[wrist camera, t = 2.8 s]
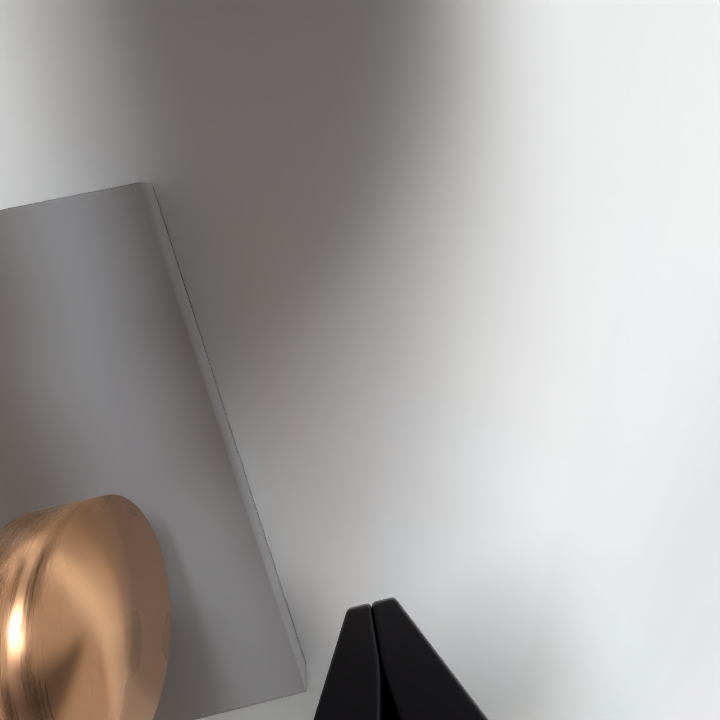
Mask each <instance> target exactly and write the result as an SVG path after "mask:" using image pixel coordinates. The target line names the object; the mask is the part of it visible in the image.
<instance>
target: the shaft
mask: <svg viewBox="0 0 720 720" xmlns="http://www.w3.org/2000/svg"><path fill="white" fill-rule="evenodd" d="M169 643H170V601H169V590H168V582H167V576H166V570H165V566H164V561H163V557H162V554H161V550H160V547H159V544H158V541H157V539H156V536H155V534H154V532H153V529H152V527H151V525H150V524H149V522H148V520H147V518H146V517H145V515H144V514H143V513H142V511H141V510H140V509H139V508H138V507H137V506H136V505H135V504H134V503H133V502H131V501H130V500H129V499H127V498H125V497H122V496H120V495H115V494H110V495H103V496H98V497H94V498H90V499H85V500H81V501H77V502H72V503H68V504H64V505H59V506H55V507H51V508H46V509H42V510H38V511H33V512H30V513H27V514H23V515H21V516H20V517H18V518H16V519H14V520H12V521H11V522H9V523H8V524H7V525H5V526H4V527H3V528H1V529H0V720H153V717H154V715H155V712H156V710H157V706H158V703H159V700H160V697H161V693H162V689H163V685H164V680H165V675H166V669H167V662H168V655H169Z"/></svg>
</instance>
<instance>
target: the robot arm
mask: <svg viewBox="0 0 720 720" xmlns="http://www.w3.org/2000/svg"><path fill="white" fill-rule="evenodd" d="M314 720H488V719H487V717H486V716H485V715H484V714H483V712H482V711H481V710H480V708H479V707H478V706H477V704H476V703H475V702H474V700H473V699H472V698H471V697H470V695H469V694H468V693H467V691H466V690H465V689H464V687H463V686H462V685H461V683H460V682H459V681H458V679H457V678H456V677H455V676H454V674H453V673H452V672H451V670H450V669H449V668H448V666H447V665H446V664H445V662H444V661H443V660H442V659H441V657H440V656H439V655H438V653H437V652H436V651H435V649H434V648H433V647H432V645H431V644H430V643H429V642H428V640H427V639H426V638H425V636H424V635H423V634H422V632H421V631H420V630H419V628H418V627H417V626H416V625H415V623H414V622H413V621H412V619H411V618H410V617H409V615H408V614H407V613H406V611H405V610H404V609H403V607H402V606H401V605H400V604H399V602H398V601H397V600H396V599H395V598H388V599H384V600H379V601H376V602H374V603H373V604H372V606H371V605H370V604H363V605H359V606H355V607H351V608H349V609H348V610H347V612H346V615H345V618H344V622H343V625H342V628H341V631H340V635H339V638H338V641H337V645H336V648H335V651H334V654H333V658H332V661H331V664H330V668H329V671H328V674H327V677H326V681H325V684H324V687H323V691H322V694H321V697H320V700H319V704H318V707H317V710H316V714H315V717H314Z"/></svg>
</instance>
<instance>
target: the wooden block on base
mask: <svg viewBox="0 0 720 720" xmlns="http://www.w3.org/2000/svg"><path fill="white" fill-rule="evenodd" d="M110 494H115V495H120V496H122V497H125V498H127V499H129V500H130V501H131V502H133V503H134V504H135V505H136V506H137V507H138V508H139V509H140V510H141V511H142V513H143V514H144V515H145V517H146V518H147V520H148V522H149V524H150V525H151V527H152V529H153V532H154V534H155V536H156V539H157V541H158V544H159V547H160V550H161V554H162V557H163V561H164V566H165V570H166V576H167V582H168V590H169V601H170V643H169V655H168V662H167V669H166V675H165V680H164V685H163V689H162V693H161V697H160V700H159V703H158V706H157V710H156V712H155V715H154V717H153V720H196V719H200V718H204V717H208V716H211V715H215V714H219V713H223V712H227V711H231V710H235V709H239V708H243V707H246V706H250V705H254V704H258V703H262V702H266V701H270V700H274V699H278V698H282V697H285V696H289V695H293V694H297V693H301V692H305V691H306V663H305V660H304V657H303V654H302V650H301V647H300V644H299V641H298V638H297V635H296V632H295V629H294V626H293V622H292V619H291V616H290V613H289V610H288V607H287V604H286V601H285V597H284V594H283V591H282V588H281V585H280V582H279V579H278V576H277V573H276V569H275V566H274V563H273V560H272V557H271V554H270V551H269V548H268V545H267V541H266V538H265V535H264V532H263V529H262V526H261V523H260V520H259V517H258V513H257V510H256V507H255V504H254V501H253V498H252V495H251V492H250V488H249V485H248V482H247V479H246V476H245V473H244V470H243V467H242V464H241V460H240V457H239V454H238V451H237V448H236V445H235V442H234V439H233V436H232V432H231V429H230V426H229V423H228V420H227V417H226V414H225V411H224V408H223V404H222V401H221V398H220V395H219V392H218V389H217V386H216V383H215V379H214V376H213V373H212V370H211V367H210V364H209V361H208V358H207V355H206V351H205V348H204V345H203V342H202V339H201V336H200V333H199V330H198V327H197V323H196V320H195V317H194V314H193V311H192V308H191V305H190V302H189V298H188V295H187V292H186V289H185V286H184V283H183V280H182V277H181V274H180V270H179V267H178V264H177V261H176V258H175V255H174V252H173V249H172V246H171V242H170V239H169V236H168V233H167V230H166V227H165V224H164V221H163V218H162V214H161V211H160V208H159V205H158V202H157V199H156V196H155V193H154V189H153V186H152V184H146V183H135V184H130V185H125V186H120V187H115V188H110V189H105V190H100V191H94V192H89V193H84V194H79V195H74V196H69V197H64V198H59V199H54V200H49V201H44V202H39V203H34V204H29V205H24V206H18V207H13V208H8V209H3V210H0V529H1V528H3V527H4V526H5V525H7V524H8V523H9V522H11V521H12V520H14V519H16V518H18V517H20V516H21V515H23V514H27V513H30V512H33V511H38V510H42V509H46V508H51V507H55V506H59V505H64V504H68V503H72V502H77V501H81V500H85V499H90V498H94V497H98V496H103V495H110Z"/></svg>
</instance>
